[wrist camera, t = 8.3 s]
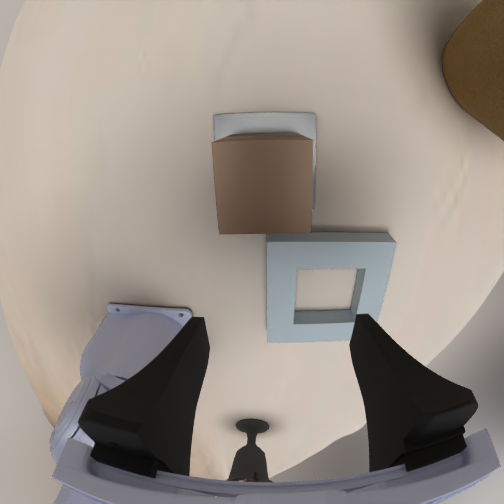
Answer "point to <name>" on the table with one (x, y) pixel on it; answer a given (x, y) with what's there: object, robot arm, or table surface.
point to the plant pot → (479, 65)
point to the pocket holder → (324, 257)
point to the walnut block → (263, 183)
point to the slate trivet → (268, 127)
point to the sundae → (250, 455)
